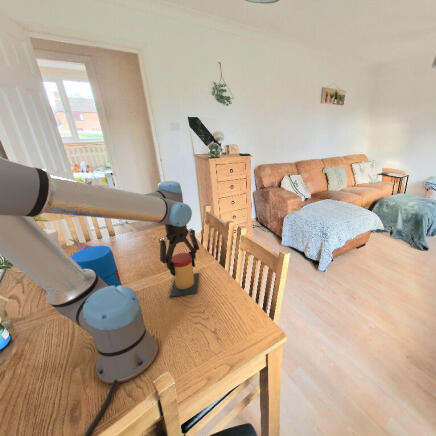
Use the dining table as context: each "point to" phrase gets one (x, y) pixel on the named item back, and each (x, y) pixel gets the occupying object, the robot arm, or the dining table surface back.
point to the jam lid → (181, 259)
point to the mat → (188, 291)
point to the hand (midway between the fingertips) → (183, 269)
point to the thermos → (99, 263)
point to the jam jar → (184, 276)
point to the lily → (81, 245)
